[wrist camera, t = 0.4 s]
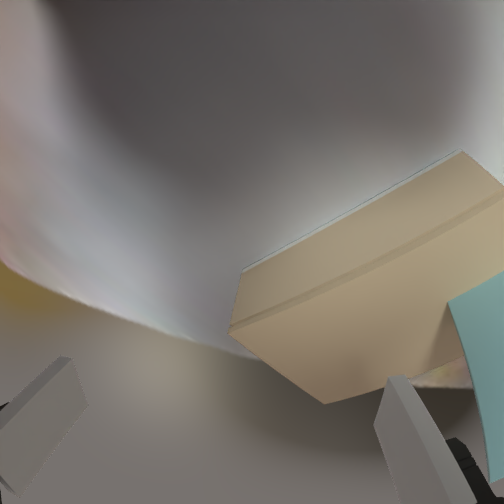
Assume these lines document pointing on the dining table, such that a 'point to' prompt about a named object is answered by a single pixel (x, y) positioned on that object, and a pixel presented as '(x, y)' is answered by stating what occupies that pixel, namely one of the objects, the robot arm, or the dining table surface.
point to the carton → (365, 234)
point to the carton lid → (402, 322)
